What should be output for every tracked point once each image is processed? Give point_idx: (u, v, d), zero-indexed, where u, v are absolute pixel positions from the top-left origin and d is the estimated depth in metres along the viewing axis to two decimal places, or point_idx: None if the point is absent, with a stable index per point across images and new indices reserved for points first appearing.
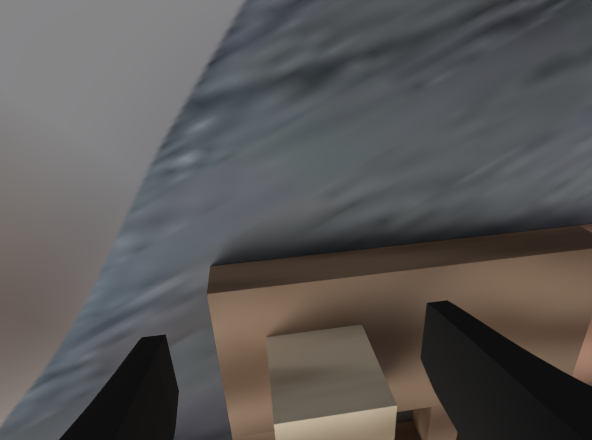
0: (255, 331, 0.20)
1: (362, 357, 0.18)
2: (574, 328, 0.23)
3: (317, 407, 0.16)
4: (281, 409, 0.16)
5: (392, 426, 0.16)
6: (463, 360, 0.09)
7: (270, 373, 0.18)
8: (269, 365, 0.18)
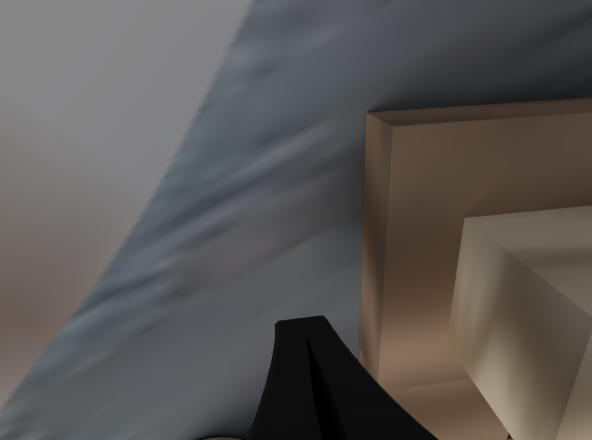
0: (452, 206, 0.12)
1: None
2: None
3: None
4: (586, 298, 0.08)
5: None
6: (316, 380, 0.09)
7: (515, 255, 0.10)
8: (503, 246, 0.11)
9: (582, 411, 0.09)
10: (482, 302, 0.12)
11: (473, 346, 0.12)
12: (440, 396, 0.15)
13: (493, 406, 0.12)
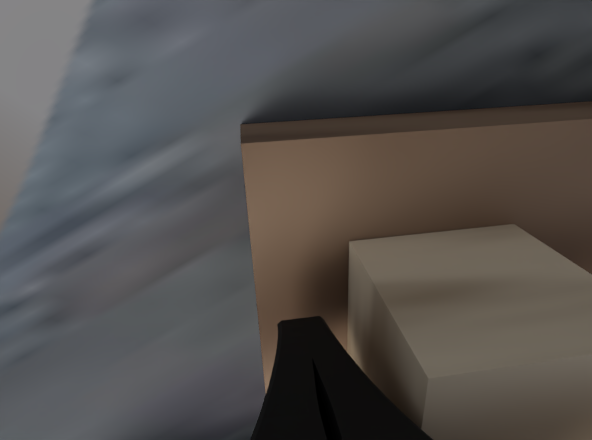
0: (324, 230, 0.11)
1: (548, 264, 0.10)
2: None
3: (511, 345, 0.07)
4: (431, 348, 0.07)
5: None
6: None
7: (380, 289, 0.09)
8: (372, 278, 0.09)
9: None
10: (363, 336, 0.11)
11: None
12: None
13: None
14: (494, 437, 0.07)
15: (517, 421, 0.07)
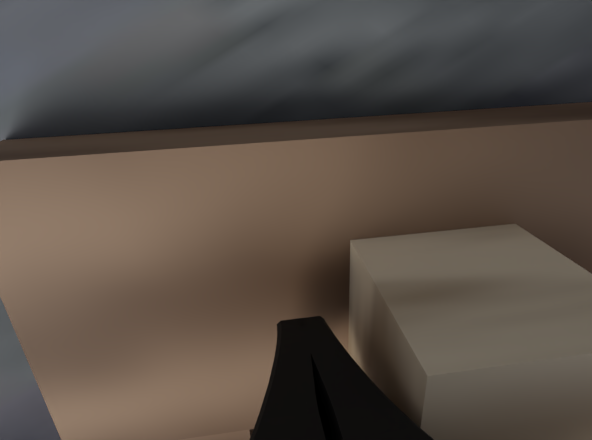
0: (71, 254, 0.10)
1: (549, 263, 0.10)
2: None
3: (510, 343, 0.07)
4: (431, 345, 0.07)
5: None
6: (313, 381, 0.09)
7: (380, 288, 0.09)
8: (373, 276, 0.09)
9: None
10: (364, 335, 0.11)
11: None
12: None
13: None
14: (493, 435, 0.07)
15: (517, 419, 0.07)
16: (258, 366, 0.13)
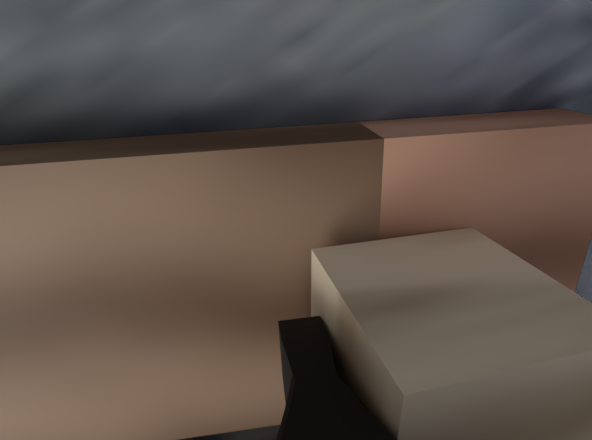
0: None
1: (508, 267, 0.10)
2: None
3: (482, 353, 0.07)
4: (404, 360, 0.07)
5: None
6: (290, 384, 0.09)
7: (346, 299, 0.08)
8: (338, 287, 0.09)
9: None
10: None
11: None
12: None
13: None
14: None
15: (490, 430, 0.07)
16: None
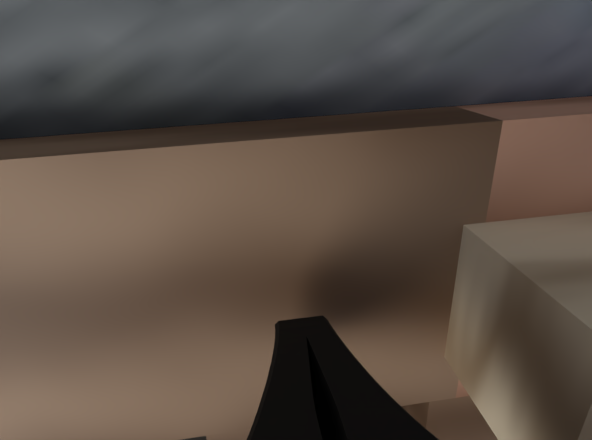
0: None
1: None
2: (446, 295, 0.12)
3: None
4: None
5: None
6: (316, 380, 0.09)
7: (519, 268, 0.09)
8: (506, 258, 0.10)
9: None
10: (483, 317, 0.11)
11: (473, 364, 0.12)
12: None
13: (494, 429, 0.11)
14: None
15: None
16: (7, 400, 0.12)
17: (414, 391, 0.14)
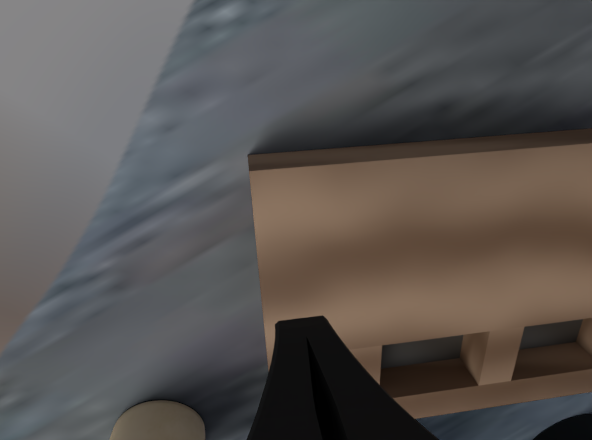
0: (302, 224, 0.17)
1: None
2: None
3: None
4: None
5: None
6: (316, 380, 0.09)
7: None
8: None
9: None
10: None
11: None
12: None
13: None
14: None
15: None
16: (395, 300, 0.19)
17: None
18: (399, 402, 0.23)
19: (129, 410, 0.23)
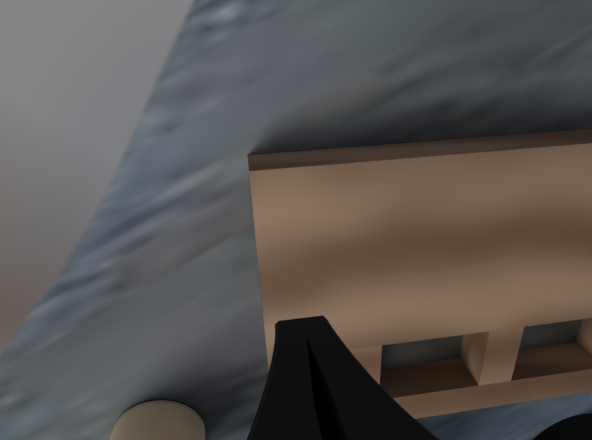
0: (302, 224, 0.17)
1: None
2: None
3: None
4: None
5: None
6: (316, 380, 0.09)
7: None
8: None
9: None
10: None
11: None
12: None
13: None
14: None
15: None
16: (395, 300, 0.19)
17: None
18: (399, 402, 0.23)
19: (129, 410, 0.23)
